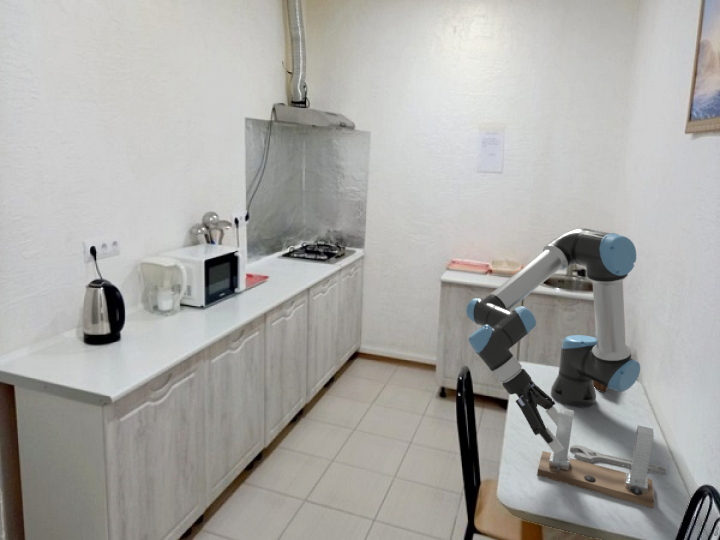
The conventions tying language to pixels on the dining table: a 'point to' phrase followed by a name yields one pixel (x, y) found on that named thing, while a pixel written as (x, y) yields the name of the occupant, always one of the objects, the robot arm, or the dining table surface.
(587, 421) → the dining table surface
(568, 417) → the block
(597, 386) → the food container
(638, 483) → the fixed leg
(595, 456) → the adjustable wrench
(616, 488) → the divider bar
